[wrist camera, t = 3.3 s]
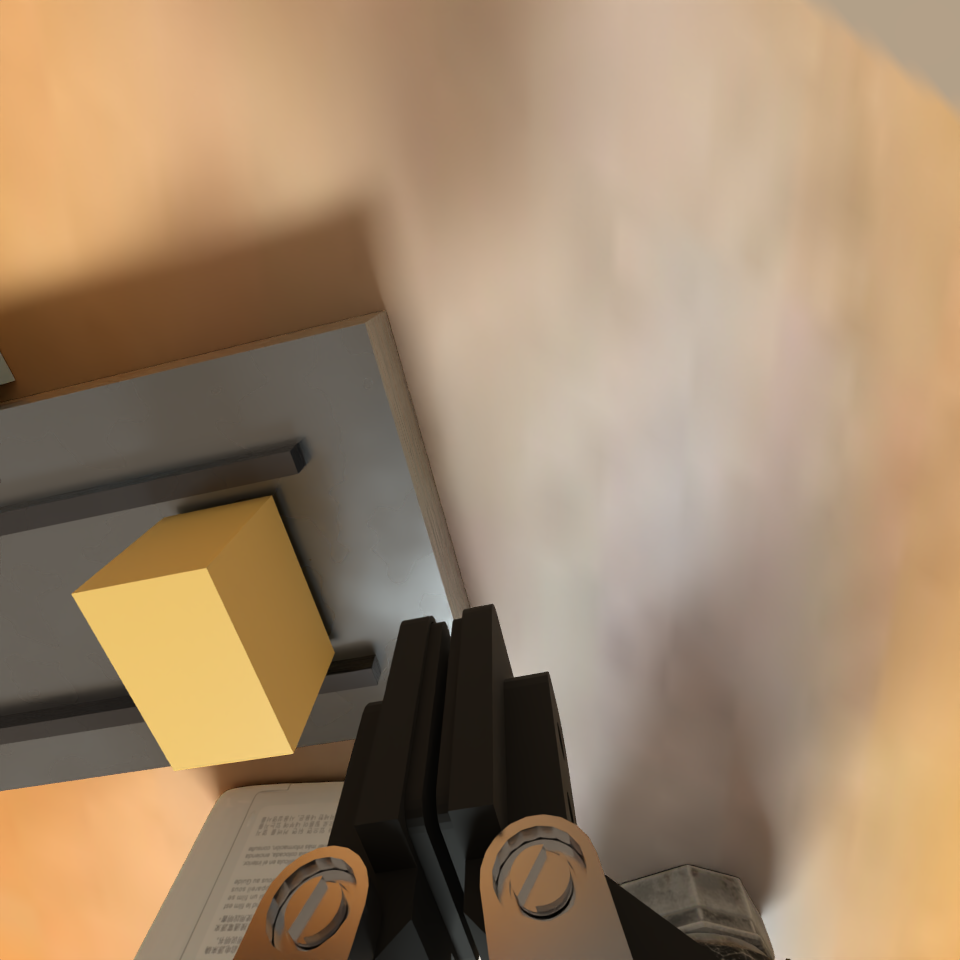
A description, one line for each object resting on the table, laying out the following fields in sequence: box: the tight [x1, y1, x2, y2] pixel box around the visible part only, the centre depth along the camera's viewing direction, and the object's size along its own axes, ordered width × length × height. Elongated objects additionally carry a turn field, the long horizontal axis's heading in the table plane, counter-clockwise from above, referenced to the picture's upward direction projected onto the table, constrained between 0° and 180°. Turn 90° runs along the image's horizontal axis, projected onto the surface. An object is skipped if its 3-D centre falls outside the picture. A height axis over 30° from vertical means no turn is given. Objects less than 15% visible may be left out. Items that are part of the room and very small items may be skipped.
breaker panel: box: [0, 310, 470, 791], centre depth 18 cm, size 18×12×3 cm, turn 103°
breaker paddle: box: [72, 495, 335, 771], centre depth 14 cm, size 3×5×4 cm, turn 13°
